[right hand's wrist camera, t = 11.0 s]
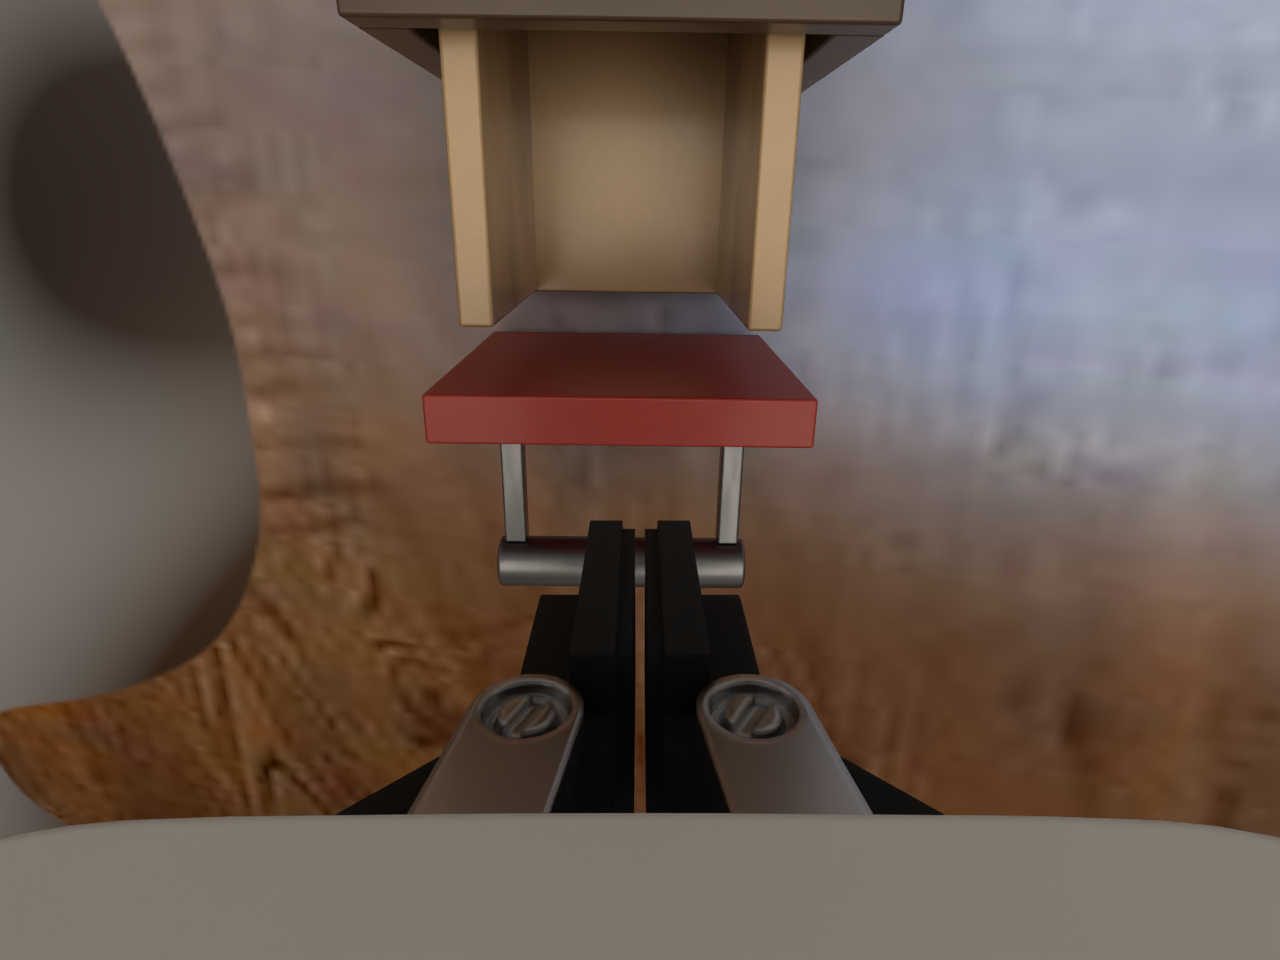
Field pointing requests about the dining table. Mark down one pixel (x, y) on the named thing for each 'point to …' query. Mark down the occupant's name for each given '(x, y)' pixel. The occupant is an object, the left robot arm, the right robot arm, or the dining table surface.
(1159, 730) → the dining table surface
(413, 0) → the cabinet
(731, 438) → the drawer
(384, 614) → the dining table surface
